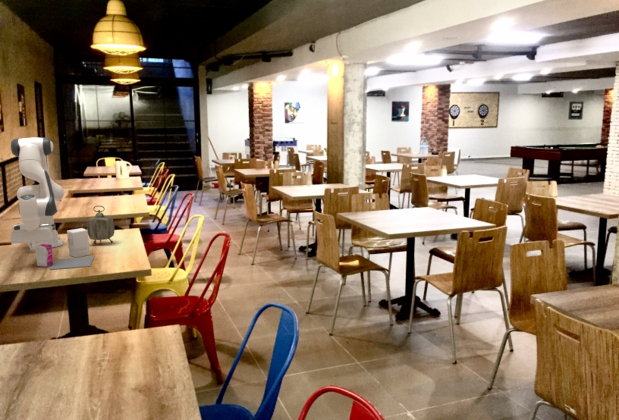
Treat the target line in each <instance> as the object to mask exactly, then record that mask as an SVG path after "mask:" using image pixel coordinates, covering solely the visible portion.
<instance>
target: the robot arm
mask: <svg viewBox="0 0 619 420" xmlns="http://www.w3.org/2000/svg"><path fill="white" fill-rule="evenodd" d="M9 148H10V149H9V150H10V152H11V154H12V155H13V156H14V157H18V167H19V172H20V174H21V175H22V176H24V177H25V178H28V179H29V180H31V181H35V182H38V183H39V184H33V185H31V184H30V185H23V186H21V187H19V188H18V189H17V192H16V197H17V199H18V201H19V203H18V213H19V215H20V222H19V223H16V224H13V226H11V230H12V231H10V232H11V233H10V242H11V244H13V245H14V244H15V245H16V244H27V246H28V247H29V249H30V251H36V246H38V245H41V244H49V245H52V249H53V248H57V247H62V246H63V245H64V243H63V239H62V238H60V237H59V233H58V231H57V230H56V223H55V222H54V221H55V220H54V215H55V214H56V215H57V213H58V212H59V211H58V210H59V205H58V201H62V199H63V198H64V197H65V196H64V195H65V191H64V188H63V186H61V185H60V184H58V183H56V182H55V181H54V180H53V179H52V178H51V176H50V173H49V168H48V162H47V156H50V155H51V154H52V153H53V150H54V144H53V141H52V140H51V138H48V137H39V136H37V137H35V136H33V137H23V138H19V137H18V138H14V139H12V140H11V142H10V145H9Z"/></svg>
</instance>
